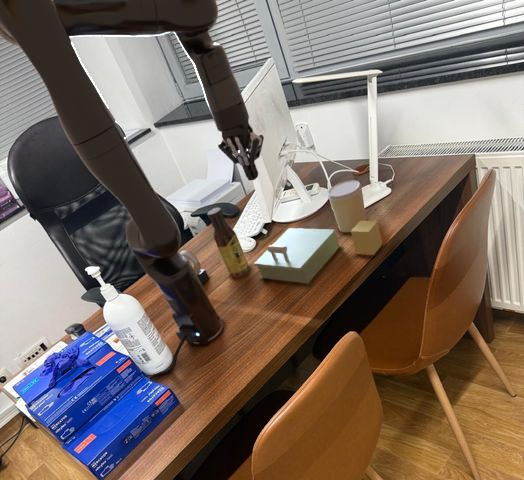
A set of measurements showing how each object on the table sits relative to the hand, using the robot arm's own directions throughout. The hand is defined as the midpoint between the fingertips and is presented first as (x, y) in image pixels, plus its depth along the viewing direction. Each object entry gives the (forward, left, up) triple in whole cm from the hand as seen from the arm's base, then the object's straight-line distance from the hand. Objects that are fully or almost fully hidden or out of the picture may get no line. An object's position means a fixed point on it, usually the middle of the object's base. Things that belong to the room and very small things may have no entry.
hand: (253, 178), depth 108 cm
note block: (+8, -21, -27) cm, 35 cm away
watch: (-5, +29, -27) cm, 40 cm away
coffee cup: (+21, -12, -27) cm, 36 cm away
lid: (+3, -3, -22) cm, 22 cm away
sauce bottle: (0, +16, -27) cm, 32 cm away
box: (+3, -3, -27) cm, 27 cm away
